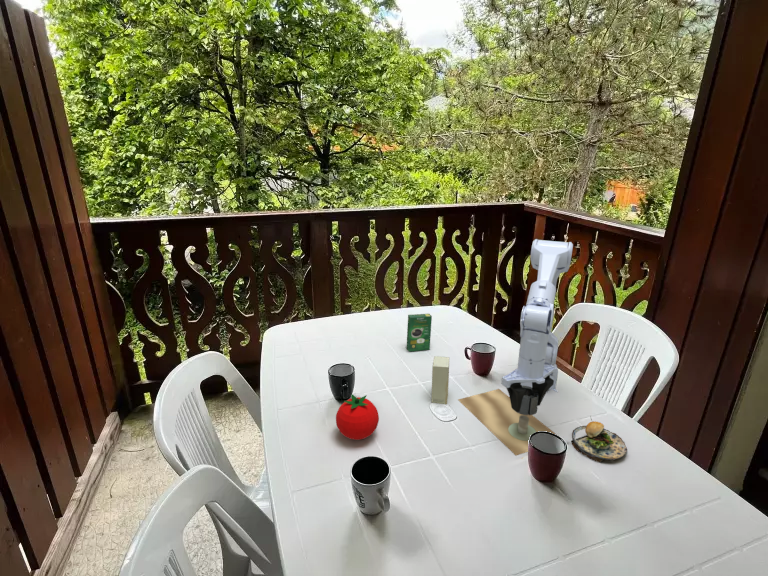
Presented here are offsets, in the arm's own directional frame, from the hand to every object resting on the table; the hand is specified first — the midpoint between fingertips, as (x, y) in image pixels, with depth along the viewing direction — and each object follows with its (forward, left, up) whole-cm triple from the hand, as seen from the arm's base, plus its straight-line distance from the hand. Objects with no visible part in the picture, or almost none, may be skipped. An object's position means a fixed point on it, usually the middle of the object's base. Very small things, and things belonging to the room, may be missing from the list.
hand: (525, 406), depth 99 cm
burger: (-14, +10, -9) cm, 19 cm away
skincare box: (+11, -21, -8) cm, 25 cm away
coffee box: (+2, -51, -8) cm, 52 cm away
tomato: (+37, -16, -8) cm, 41 cm away
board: (0, -6, -8) cm, 10 cm away
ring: (0, 0, -1) cm, 1 cm away
